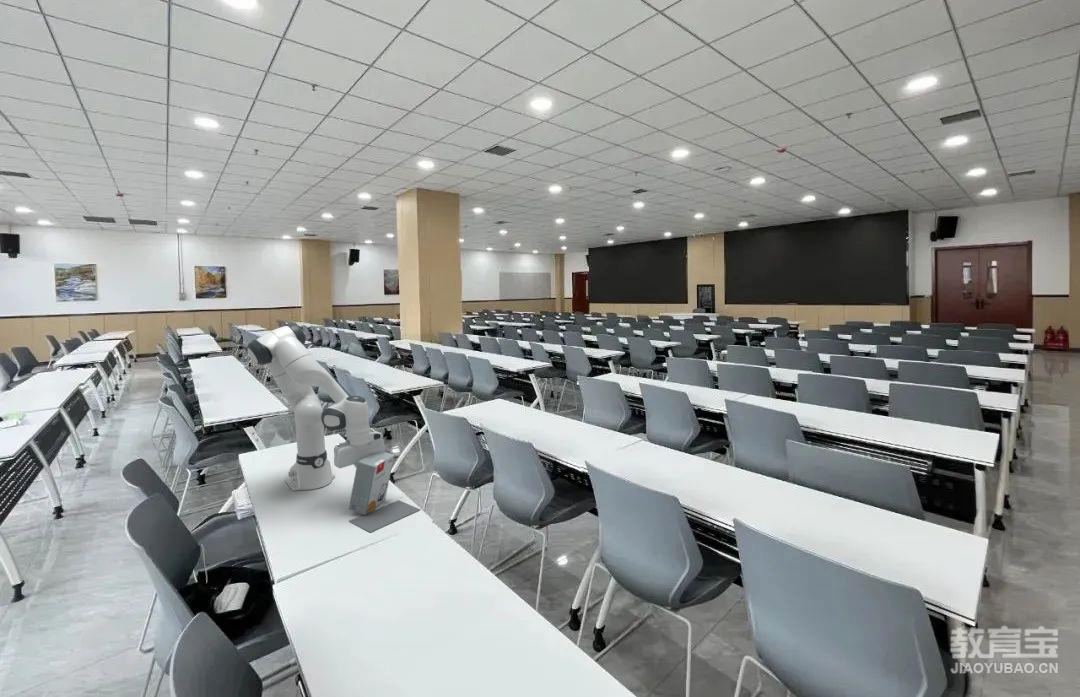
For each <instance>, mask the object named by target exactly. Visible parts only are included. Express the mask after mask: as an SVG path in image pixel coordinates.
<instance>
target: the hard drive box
mask: <svg viewBox="0 0 1080 697" xmlns="http://www.w3.org/2000/svg"><path fill="white" fill-rule="evenodd" d="M394 458H395V454H393V453H390V452H387V451H385V452H378V453H372V454H370V455H368V456H367V457H365V458H363V459H362V460H360V461H358V463H357V468H356V467H355V468H356V469H355V475H354V479H353V484H352V487H351V488H352V489H351V494H350V499H349V504H348V510H349V511H352V512H354V513H359V514H360V515H366V514H368V513H369V512H371V511H374V510H375V508H376V507H378V506H379V505H381V504H382V503H383V502H385V501H386V497H387V493H388V488H389V483H390V478H391V472H392V467H393V462H394Z"/></svg>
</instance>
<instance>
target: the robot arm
mask: <svg viewBox="0 0 1080 697" xmlns="http://www.w3.org/2000/svg"><path fill="white" fill-rule="evenodd" d="M306 341H307V336H306V334H305V332H304V330H303V329H302V327H301V326H300V325H298V324H296V323H294V322H293V323H288V324H285V325H284V326H281V327H278V328H275V329H272V330H270V331H269V332H267V333H265V334H263V335H261V336H260V337H258V338H257V339H253V340H252V341H250V342H249V343H248V344H247V347H246V351H247V354H248V356H249V358H250V360H252V362H254V363H255V364H256V365H259V366H265V365H267V368H268V370H269V372H270V374H271V376H272V377H273V380H274V381H275V383H276V385H277V386H278V388H279V391H280V392H281V394H283V396H284V398H285V400H286V401H287V403H288V404H289V406H290V407H291V409H292V410H293V414H294V423H295V435H296V438H295V439H296V450H297V453H296V459H295V460H296V461H295V463H294V464H293V465H291V467H290V469H289V471H288V472H287V474H288V476H287V477H285V479H284V482H285V483H286V484H287V486H288V487H289V488H290V489H291V490H292V491H293V492H294V491H301V490H305V491H307V490H316V489H320V488H322V487H323V488H324V487H325V486H327V485H329V484H331V483H332V481H333V479H334V478H335V477H336V474H333V472H332V465H331V461H330V460H329V459H328V454H327V453H328V452H327V449H326V444H325V443H326V442H325V441H326V440H325V429H327V430H329V431H340V430H345V432H346V440H345V441H343V442H339V443H337V444H336V445H335V446H334V447H333V453H334V455H333V460H334V461H333V464H334V466H335V467H337V468H338V469H343V468H346V467H349V466H352V465H353V466H354V467H355V468H357V463H358V461H360V460H362V459H363V458H365V457H367V456H368V455H370V454H372V453H378V452H386V444H385V441H384V439H383V433H382V432H379V431H377V430H373V429H372V430H371V427H370V424H369V423H370V410H369V405H368V401H367V400H366V399H365V397H363V396H359V395H351V394H350V393H349V391H347V390H346V389H345V388H344V386H342V384H341V383H340V382H339V381H338V380H337V379H336V378H335V377H334V376H333V374H332V373H331V372H330V371H329V370H327V369H326V368H325V367H323V366H322V365H320V363H318V362H319V361H317V360H316V359H315V358H314V356H313V355H312V354H311V353H310V351H309V350H308V349H307V348H306V346H305V343H306ZM312 386H315V387H318V388H320V389H322V390H323V391H324V392H325V393H326V394H327V395H328V396H329V397H330V399H331V400H333V402H334V403H335V404H332V405H330V406H328V407H326V408H325V409H323V406H322V403H321V401H320V399H319V397H318V396H317V394H316V393H315V391H314V389H313V387H312Z"/></svg>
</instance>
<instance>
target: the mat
mask: <svg viewBox="0 0 1080 697" xmlns="http://www.w3.org/2000/svg"><path fill="white" fill-rule="evenodd" d="M419 511H421V509H420V508H418V507H415V506H414V505H411V504H409V503H406V502H405V501H402V500H400V499H398V500H396V501H392V502H390V503H388V504H386V505H384V506H381V507H378V508H376V509H373V510H372V511H370V512H369V513H368V514H366V515H363V514H361V515H360V516H357V517H355V518H352V519H350V520H348V522H349V523H350V524H353V525H354V526H356V527H358V528H360V529H362V530H364V531H365V532H368V533H369V534H371V533H373V532H376V531H379V530H380V529H382V528H384V527H387V526H389V525H391V524H393V523H395V522H398V521H401V520H403V519H404V518H407V517H408V516H411V515H413V514H416V513H417V512H419Z"/></svg>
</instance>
